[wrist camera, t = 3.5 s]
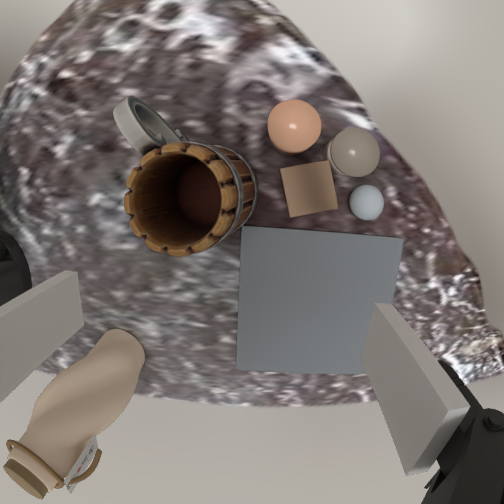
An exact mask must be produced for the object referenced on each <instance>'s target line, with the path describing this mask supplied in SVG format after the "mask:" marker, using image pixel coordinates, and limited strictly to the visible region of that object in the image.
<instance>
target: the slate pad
mask: <svg viewBox="0 0 504 504" xmlns="http://www.w3.org/2000/svg"><path fill="white" fill-rule="evenodd" d="M403 240H404V239H403V238H399V237H388V236H377V235H366V234H355V233H343V232H331V231H318V230H305V229H291V228H277V227H262V226H246V225H242V233H241V255H240V278H239V303H238V328H237V356H236V369H240V370H252V371H265V372H281V373H305V374H367V373H366V371H365V368H364V366H363V363H362V361H361V355H362V352H363V348H364V345H365V341H366V337H367V334H368V330H369V326H370V322H371V318H372V314H373V309H374V305H375V303H384V304H392V300H393V296H394V291H395V286H396V281H397V276H398V270H399V265H400V259H401V253H402V246H403Z"/></svg>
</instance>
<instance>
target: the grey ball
mask: <svg viewBox="0 0 504 504" xmlns="http://www.w3.org/2000/svg"><path fill="white" fill-rule="evenodd" d="M349 203H350V208H351V210H352V212H353V213H354V214H355V215H356V216H357V217H358V218H360V219H363V220H371V219H374V218H376V217H377V216H378V215H379V214H380V213H381V212H382V210H383V206H384V200H383V196H382V194H381V192H380V191H379V190H378V189H377V188H375V187H374V186H371V185H361V186H359V187H357V188H356V189H355V190H354V191H353V192H352V194H351V196H350V200H349Z"/></svg>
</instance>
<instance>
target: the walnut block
mask: <svg viewBox="0 0 504 504" xmlns="http://www.w3.org/2000/svg"><path fill="white" fill-rule="evenodd" d="M279 171H280V175H281V180H282V185H283V189H284V194H285V199H286V204H287V209H288V213H289V215H290V218H291V217H296V216H301V215H306V214H311V213H317V212H322V211H327V210H333V209H338V204H337V199H336V193H335V188H334V183H333V177H332V172H331V167H330V162H329V160H326V161H320V162H314V163H308V164H303V165H297V166H292V167H287V168H282V169H280V170H279Z"/></svg>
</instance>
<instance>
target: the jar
mask: <svg viewBox="0 0 504 504" xmlns="http://www.w3.org/2000/svg"><path fill="white" fill-rule="evenodd" d="M379 157H380V151H379V146H378V144H377V142H376V140H375V138H374V137H373V136H372V135H371V134H370V133H369V132H367V131H366V130H364V129H361V128H356V127H352V128H347V129H345V130H343V131H341V132H340V133H338V134H337V135H336V136H335V137H334V139H332V140H330V141H329V142H328V143H327V144H326V145H325V147H324V149H323V153H322V158H323V161H326V160H329V162H330V167H331V172H332V173H335V174H338V175H348V176H352V177H362V176H365V175H368V174H369V173H371V172H372V171H373V170H374V169H375V168H376V166H377V164H378V162H379Z"/></svg>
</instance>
